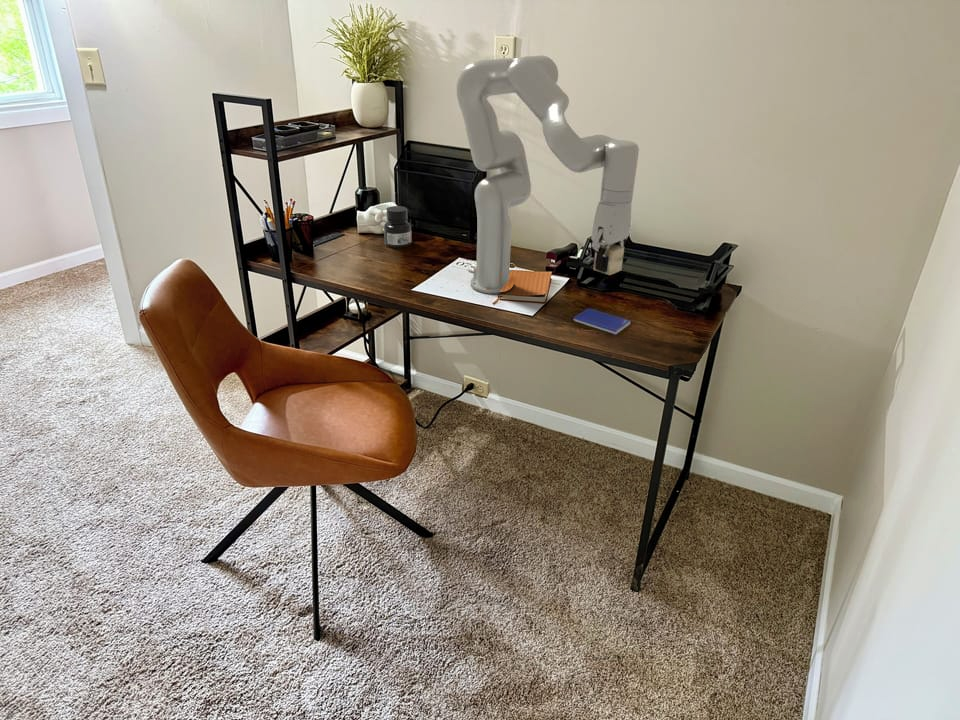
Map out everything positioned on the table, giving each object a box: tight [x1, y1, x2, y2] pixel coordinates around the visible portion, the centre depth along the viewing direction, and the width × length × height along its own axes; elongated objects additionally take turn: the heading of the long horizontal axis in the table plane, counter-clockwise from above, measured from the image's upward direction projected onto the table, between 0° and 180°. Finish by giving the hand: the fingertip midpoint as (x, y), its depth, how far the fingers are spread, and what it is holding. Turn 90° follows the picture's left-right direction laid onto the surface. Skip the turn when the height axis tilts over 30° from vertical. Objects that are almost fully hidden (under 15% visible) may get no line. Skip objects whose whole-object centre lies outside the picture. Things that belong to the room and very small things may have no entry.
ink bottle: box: [383, 205, 412, 249], centre depth 221 cm, size 10×9×12 cm
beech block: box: [593, 244, 625, 276], centre depth 166 cm, size 5×5×6 cm
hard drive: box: [573, 307, 631, 335], centre depth 175 cm, size 2×8×12 cm
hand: (607, 267), depth 167 cm, fingers closed on beech block, 5 cm apart
